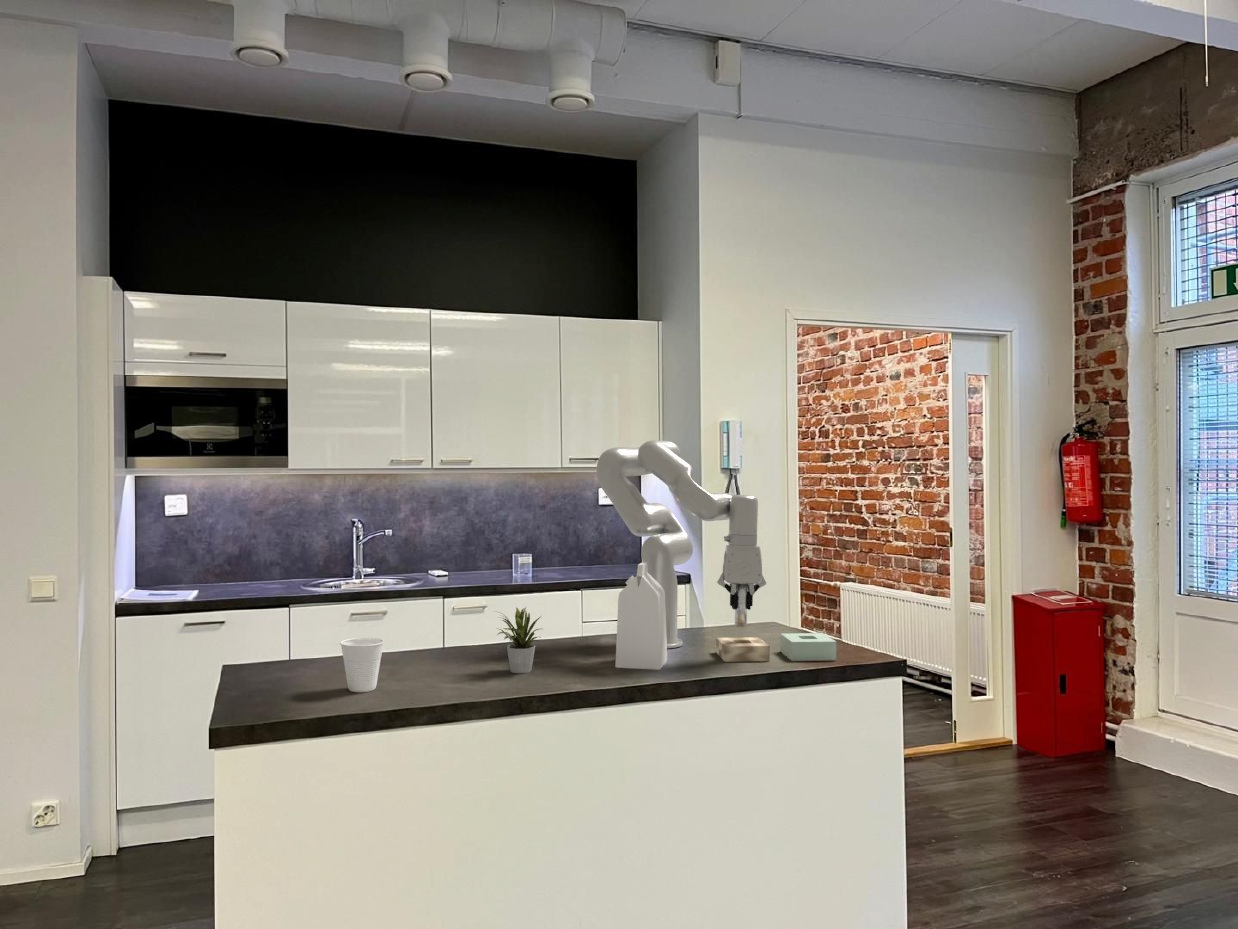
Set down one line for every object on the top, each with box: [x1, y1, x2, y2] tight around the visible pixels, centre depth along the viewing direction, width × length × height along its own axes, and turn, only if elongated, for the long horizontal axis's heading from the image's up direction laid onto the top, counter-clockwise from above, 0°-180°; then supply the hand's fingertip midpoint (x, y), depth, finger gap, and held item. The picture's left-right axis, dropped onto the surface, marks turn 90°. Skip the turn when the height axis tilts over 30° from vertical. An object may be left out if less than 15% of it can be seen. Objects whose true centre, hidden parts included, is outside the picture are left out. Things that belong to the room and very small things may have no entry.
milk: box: [614, 561, 668, 671], centre depth 249 cm, size 12×12×26 cm
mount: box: [715, 636, 771, 663], centre depth 259 cm, size 12×12×4 cm
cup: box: [339, 637, 386, 693], centre depth 220 cm, size 10×10×11 cm
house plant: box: [494, 606, 544, 674], centre depth 241 cm, size 14×14×16 cm
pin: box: [734, 584, 748, 628], centre depth 259 cm, size 3×3×12 cm
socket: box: [779, 632, 837, 662], centre depth 260 cm, size 12×12×5 cm
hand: (741, 608), depth 259 cm, fingers closed on pin, 3 cm apart
